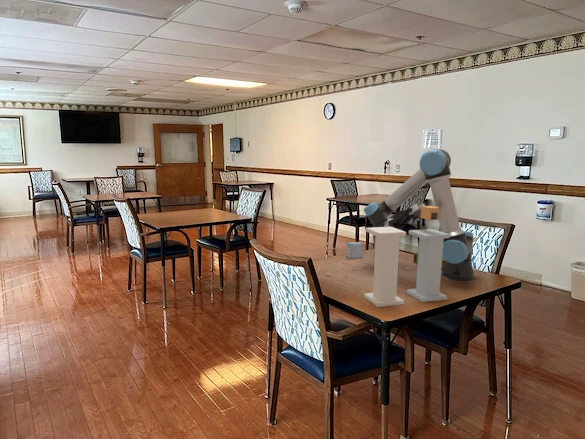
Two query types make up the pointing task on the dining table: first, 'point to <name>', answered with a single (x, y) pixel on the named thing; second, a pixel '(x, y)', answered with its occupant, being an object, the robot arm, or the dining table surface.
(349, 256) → the medicine box
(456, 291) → the dining table surface
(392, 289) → the stand
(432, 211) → the orange and black bar
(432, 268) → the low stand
